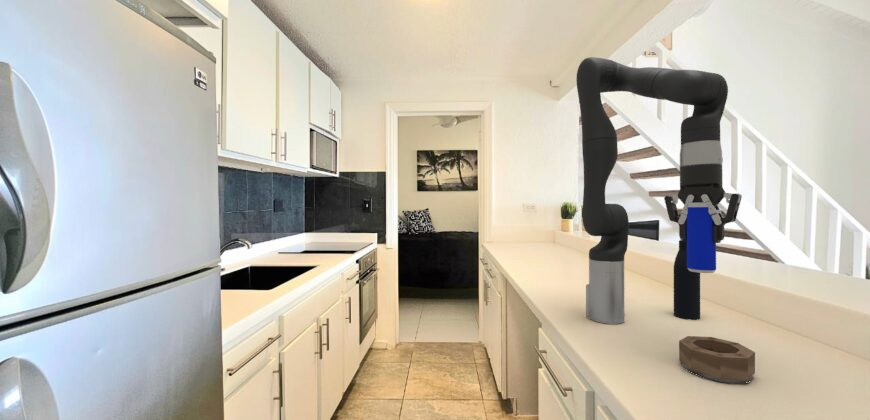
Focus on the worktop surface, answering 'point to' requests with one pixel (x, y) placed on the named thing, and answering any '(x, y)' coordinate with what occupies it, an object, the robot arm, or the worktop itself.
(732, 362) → the collar
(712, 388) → the worktop surface
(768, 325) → the worktop surface
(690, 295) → the wine bottle
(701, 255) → the beverage can
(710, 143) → the robot arm
